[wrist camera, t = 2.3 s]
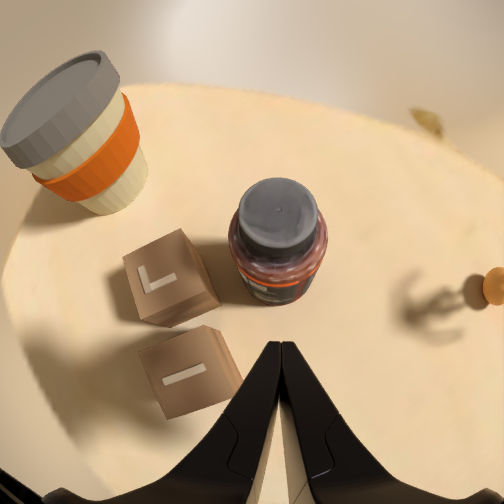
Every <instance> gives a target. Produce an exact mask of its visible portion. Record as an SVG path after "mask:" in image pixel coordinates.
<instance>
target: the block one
mask: <svg viewBox="0 0 504 504" xmlns="http://www.w3.org/2000/svg"><path fill="white" fill-rule="evenodd" d="M139 355H140V357H141V360H142V363H143V365H144V368H145V371H146V373H147V376H148V378H149V380H150V383H151V385H152V388H153V390H154V392H155V395H156V397H157V399H158V401H159V404H160V406H161V408H162V410H163V412H164V414H165V416H166V419H167V420H169V419H172V418H175V417H179V416H182V415H185V414H188V413H191V412H194V411H197V410H200V409H203V408H206V407H209V406H212V405H214V404H217V403H220V402H222V401H225V400H228V399H230V398H233V396H234V395H235V393H236V392H237V390H238V389H239V387H240V386H241V384H242V383H243V379H242V377H241V375H240V373H239V370H238V368H237V366H236V364H235V362H234V360H233V358H232V356H231V353H230V351H229V349H228V347H227V345H226V343H225V340H224V338H223V336H222V334H221V331H218V330H216V329H213V328H210V327H208V326H205V325H202V326H200V327H197V328H195V329H193V330H190V331H188V332H186V333H183V334H181V335H179V336H176V337H174V338H171V339H169V340H167V341H164V342H162V343H159V344H157V345H154V346H152V347H149V348H147V349H145V350H142V351H139Z"/></svg>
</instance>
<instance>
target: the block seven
mask: <svg viewBox="0 0 504 504" xmlns="http://www.w3.org/2000/svg"><path fill="white" fill-rule="evenodd" d="M122 258H123V261H124V265H125V269H126V273H127V277H128V280H129V284H130V287H131V291H132V294H133V297H134V301H135V304H136V307H137V310H138V313H139V316H140V319H141V320H143V321H147V322H151V323H154V324H158V325H162V326H165V327H169V328H172V327H174V326H176V325H179V324H181V323H183V322H185V321H188V320H190V319H192V318H195V317H197V316H199V315H201V314H204V313H206V312H208V311H210V310H213V309H215V308H217V307H219V306H221V303H220V300H219V298H218V296H217V294H216V291H215V289H214V287H213V284H212V282H211V280H210V277H209V275H208V272H207V270H206V268H205V265H204V263H203V261H202V258H201V256H200V254H199V253H198V252H197V250H196V249H195V247H194V246H193V245H192V243H191V242H190V241H189V239H188V238H187V236H186V235H185V234H184V232H183V231H182V229H181V228H180V229H178V230H176V231H174V232H172V233H169V234H167V235H165V236H163V237H161V238H159V239H157V240H155V241H153V242H151V243H149V244H147V245H145V246H143V247H141V248H139V249H137V250H135V251H133V252H131V253H129V254H128V255H126V256H124V257H122Z"/></svg>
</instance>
